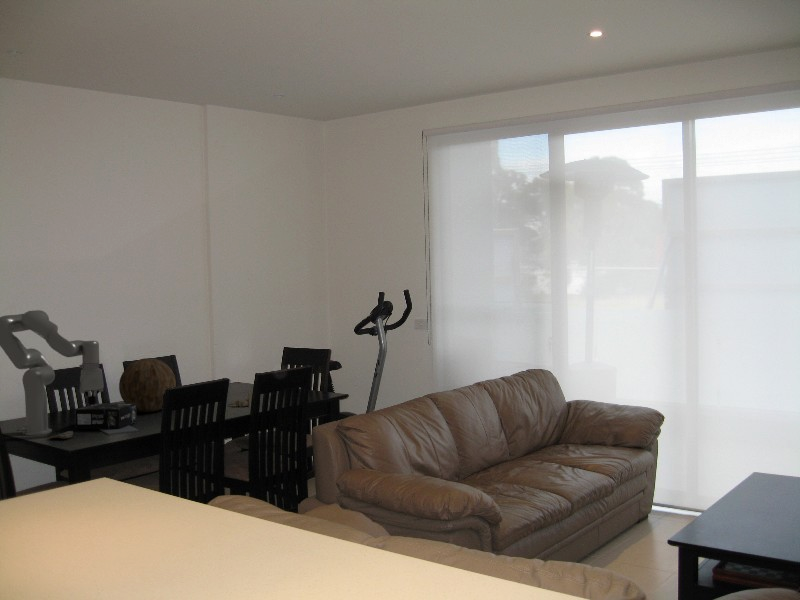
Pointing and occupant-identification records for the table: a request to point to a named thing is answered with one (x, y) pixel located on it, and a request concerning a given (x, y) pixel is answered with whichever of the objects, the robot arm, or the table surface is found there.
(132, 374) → the decorative sphere
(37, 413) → the robot arm
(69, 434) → the ceramic fragment
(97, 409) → the box
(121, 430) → the mat
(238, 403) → the dollhouse furniture set
